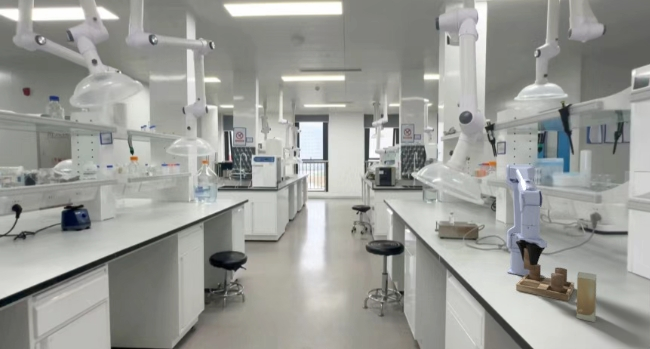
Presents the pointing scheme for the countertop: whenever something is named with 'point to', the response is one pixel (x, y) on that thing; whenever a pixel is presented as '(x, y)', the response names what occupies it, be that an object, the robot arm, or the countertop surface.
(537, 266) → the stool seat
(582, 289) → the skincare box
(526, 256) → the loose leg
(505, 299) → the countertop surface
